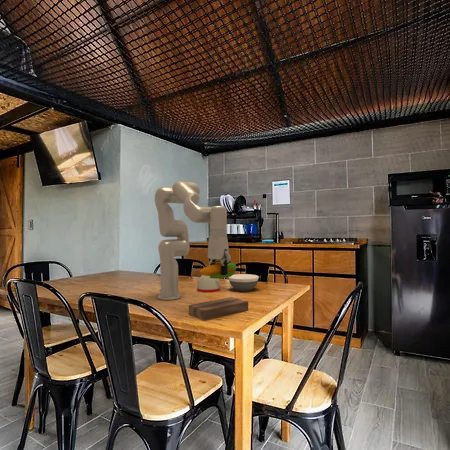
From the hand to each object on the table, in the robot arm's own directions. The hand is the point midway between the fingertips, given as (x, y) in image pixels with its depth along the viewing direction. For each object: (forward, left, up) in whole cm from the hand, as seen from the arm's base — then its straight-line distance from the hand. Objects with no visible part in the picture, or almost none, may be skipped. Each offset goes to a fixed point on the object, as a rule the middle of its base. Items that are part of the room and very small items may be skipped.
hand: (218, 273), depth 134 cm
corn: (0, 0, -2) cm, 2 cm away
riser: (0, 0, -17) cm, 17 cm away
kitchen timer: (-44, +25, -17) cm, 54 cm away
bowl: (-31, +42, -17) cm, 55 cm away
